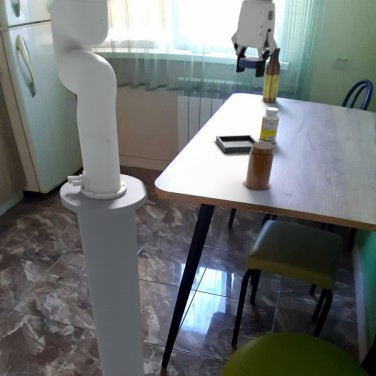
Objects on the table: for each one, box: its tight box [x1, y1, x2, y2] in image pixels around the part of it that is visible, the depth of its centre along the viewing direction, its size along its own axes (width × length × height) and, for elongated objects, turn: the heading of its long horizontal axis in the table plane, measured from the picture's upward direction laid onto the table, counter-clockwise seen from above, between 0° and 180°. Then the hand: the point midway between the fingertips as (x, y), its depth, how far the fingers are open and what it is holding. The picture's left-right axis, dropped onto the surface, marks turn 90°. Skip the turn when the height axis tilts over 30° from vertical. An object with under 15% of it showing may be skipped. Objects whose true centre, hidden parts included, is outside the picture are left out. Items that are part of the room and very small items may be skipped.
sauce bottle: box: [262, 46, 281, 103], centre depth 176 cm, size 6×6×20 cm
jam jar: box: [245, 141, 275, 191], centre depth 111 cm, size 6×6×11 cm
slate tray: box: [215, 134, 258, 154], centre depth 137 cm, size 12×11×2 cm
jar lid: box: [239, 56, 259, 70], centre depth 117 cm, size 7×7×2 cm
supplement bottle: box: [259, 106, 280, 144], centre depth 139 cm, size 6×6×10 cm
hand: (249, 73), depth 119 cm, fingers closed on jar lid, 6 cm apart
